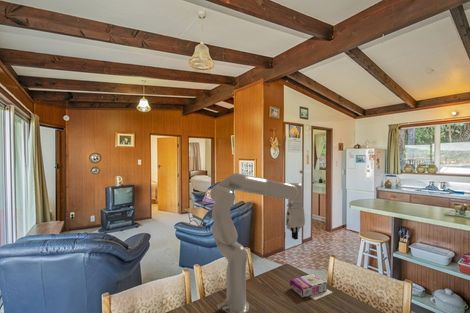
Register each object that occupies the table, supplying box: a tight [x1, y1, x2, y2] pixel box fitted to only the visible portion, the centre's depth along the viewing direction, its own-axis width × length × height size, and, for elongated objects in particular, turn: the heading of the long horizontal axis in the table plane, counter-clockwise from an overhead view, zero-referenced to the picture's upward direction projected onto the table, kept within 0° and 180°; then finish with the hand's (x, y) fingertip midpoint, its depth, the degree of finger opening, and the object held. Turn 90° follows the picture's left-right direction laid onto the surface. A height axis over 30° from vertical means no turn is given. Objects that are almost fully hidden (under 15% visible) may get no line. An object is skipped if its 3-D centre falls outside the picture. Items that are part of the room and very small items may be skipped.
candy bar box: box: [289, 273, 328, 299], centre depth 137 cm, size 11×5×16 cm
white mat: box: [308, 288, 333, 301], centre depth 139 cm, size 13×19×1 cm
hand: (294, 238), depth 138 cm, fingers closed
